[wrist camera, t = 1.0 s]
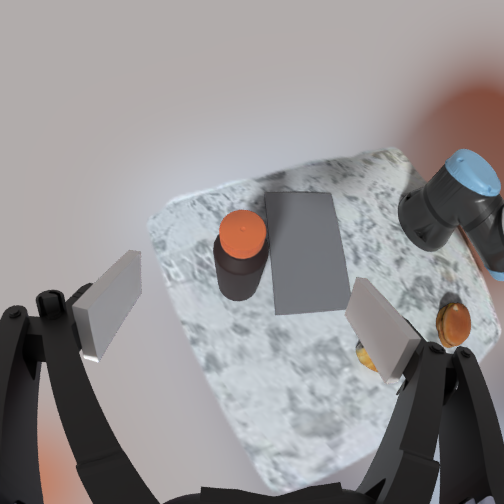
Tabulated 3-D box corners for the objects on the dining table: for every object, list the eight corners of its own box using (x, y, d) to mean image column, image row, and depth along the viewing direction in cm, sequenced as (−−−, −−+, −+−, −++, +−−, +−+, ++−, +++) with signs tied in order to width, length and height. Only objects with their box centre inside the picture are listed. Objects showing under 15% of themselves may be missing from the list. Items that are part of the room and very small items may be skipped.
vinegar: (248, 258, 48) (258, 194, 30) (264, 292, 46) (286, 245, 28) (212, 272, 47) (201, 213, 28) (227, 308, 45) (224, 270, 26)
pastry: (401, 355, 43) (412, 354, 40) (382, 383, 41) (392, 384, 38) (369, 326, 45) (379, 323, 42) (349, 354, 43) (358, 354, 40)
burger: (448, 356, 43) (463, 353, 39) (428, 328, 46) (442, 324, 41) (466, 323, 46) (479, 319, 42) (446, 296, 49) (459, 290, 44)
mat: (329, 195, 55) (331, 193, 54) (350, 308, 46) (352, 307, 45) (264, 194, 54) (265, 192, 53) (275, 315, 45) (276, 314, 44)
